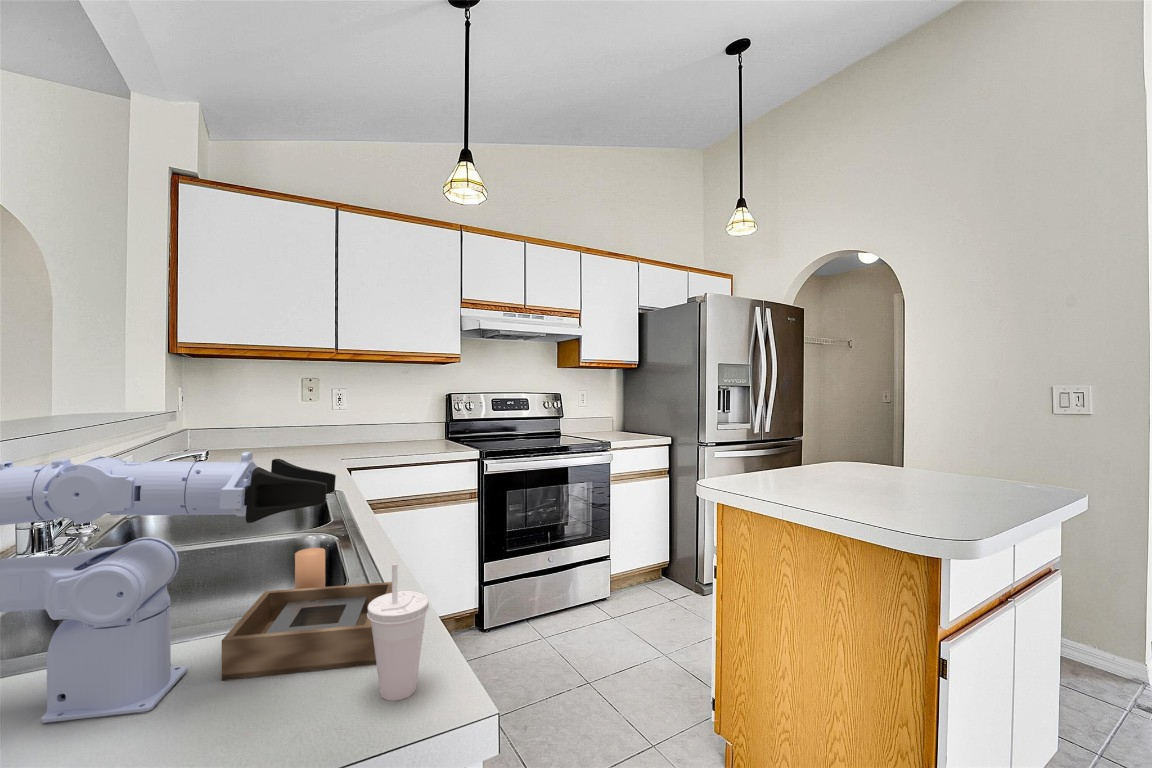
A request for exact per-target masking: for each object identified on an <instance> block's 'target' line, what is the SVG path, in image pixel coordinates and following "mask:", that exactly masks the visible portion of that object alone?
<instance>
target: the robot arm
mask: <svg viewBox="0 0 1152 768" xmlns="http://www.w3.org/2000/svg"><path fill="white" fill-rule="evenodd" d="M253 455H254V454H253V451H245V452H242V453H241V455H240V461H239V462H234V461H232V462H231V461H230V462H226V461H210V462H209V461H167V460H166V461H160V460H159V461H158V460H157V461H156V460H155V461H153V460H152V461H147V462H139V461H127V460H125V459H121V458H117V457H107V456H102V455H101V456H97V457H95V458H94V457H93V458H91V459H88V460H87V461H84V462H81V463H78V464H74V463H72V462H71V459H70V458H69V457H68V458H67V457H66V458H56V459H54V460H53V459H52V461H51V463H49V464H36V465H34V464H33V465H21V466H14V461H11V460H7V461H4V460H3V461H0V526H6V525H16V524H17V525H18V524H26V523H39V522H46V521H56V520H59V519H61V518H62V519H65V518H67V520H68V521H73V523H74V524H75V525H83V524H87V523H90V522H93V521H96V520H98V519H100V518H102V517H103V516H104V515H106V514H108V513H109V515H111V516H123V515H124V516H125V515H127V516H128V515H129V516H133V515H134V516H135V515H136V516H137V515H138V516H146V517H147V516H190V515H191V516H207V515H208V516H209V515H210V516H213V515H215V516H216V515H217V516H218V515H221V516H222V515H235V516H236V517H245V522H246V524H247V523H248V524H253V523H255V522H257V521H259V520H260V521H261V520H262V519H264V518H267V517H269V516H273V515H276V514H279V513H280V514H281V513H283V512H286V511H292V510H293V511H294V510H297V509H304V508H308V507H314V506H319V505H323V504H325V503H326V502H327V501H326V500H327V494H330V493H335V491H336V477H337V475H336V474H334V473H330V472H326V471H321V470H315V469H309V468H305V467H301V466H297V465H295V464H292V463H289V462H288V461H286V460H284V459H281V458H274V459H272V460H271V468H270V470H267V469H264V468H262V467H261V466H258V465H257V464H256V463H255V462H254V460H253V457H254V456H253ZM179 557H180V556H179V554H178V552H177V550H176V548H175V547H174V546H173V545H172V544H171V543H170V542H168V541H166V540H164V539H162V538H158V537H153V536H148V537H147V536H145V537H139V538H136V539H133V540H131V541H128V542H126V543H125V544H123V545H118V546H117V545H116V546H111V547H110V546H109V547H100V548H95V549H91V550H87V551H82V552H78V553H73V554H68V555H53V556H52V555H50V556H31V557H30V556H29V557H28V556H27V557H26V556H25V557H7V558H0V613H10V612H25V611H27V612H28V611H39V610H45V611H46V613H47V614H48V616H49V617H50V619H51V620H53V621H57V620H64V621H62V622H61V623H60V624H59V625H58V627H57V628H56V630H55V631H54V633H53V634H52V637H51V639H50V642H49V644H48V648H47V651H46V652H47V654H46V713H45V714H44V715H43V716H42V717H41V723H42V724H43V723H53V722H62V721H63V722H64V721H71V720H72V721H73V720H79V719H80V720H81V719H89V718H97V717H98V718H99V717H107V716H117V715H124V714H133V713H144V712H149V711H151V710H152V709H154V708H155V707H156V705H158V704H159V702H160V701H162V699H163V698H164V697H165V695H166V694H168V692H169V691H170V690H171V689H172V688H173V687H174V685H176V684H177V682H178V681H179V680H180V679H181V678H182V676H184V675H185V674H186V672H187V671H188V669H189V668H188V666H187V665H182V666H181V665H180V666H179V665H178V666H171V663H172V661H171V660H172V656H171V653H172V652H171V651H172V650H171V649H172V648H171V647H172V646H171V640H172V639H171V638H172V637H171V636H172V635H171V633H172V632H171V597H170V594H169V592H168V584H169V583H170V582H172V580H173V579H174V577H175V576H176V574H177V572H178V571H179V566H180V558H179Z"/></svg>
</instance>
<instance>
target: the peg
mask: <svg viewBox="0 0 1152 768" xmlns="http://www.w3.org/2000/svg"><path fill="white" fill-rule="evenodd" d="M316 587H326V549H325V548H322V547H309V548H308V547H307V548H303V549H300V550H297V551H296V552H295V553H294V589H302V588H316Z"/></svg>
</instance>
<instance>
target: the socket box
mask: <svg viewBox="0 0 1152 768" xmlns="http://www.w3.org/2000/svg"><path fill="white" fill-rule="evenodd" d="M388 593H392V581H385V582H371V583H359V584H346V585H344V584H343V585H332V586H331V585H330V586H325V587H316V588H302V589H295V588H292V589H291V588H290V589H289V588H287V589H276V590H265V591H264V592H263V593H262V594H261V595H260V596H259V597H258V598H257V600H256V601H255V602H254V604H252V605H251V607H249V609H248V610H247V611H246V612H245V613H244V615H243V616H242V617H241V618H240V619H239V620H238V621H237V623H236V624H235V625H234V626H233V627H232V628H231V629H230V630H229V632H228V633H227V634H226V635H225V636H224V637H223V638H222V639H221V681H228V680H229V681H230V680H238V679H247V678H248V679H249V678H258V677H259V678H260V677H266V676H277V675H286V674H295V673H305V672H315V671H316V672H317V671H325V670H333V669H334V670H335V669H345V668H354V667H364V666H371V665H373V666H374V665H377V664H376V656H375V649H374V641H373V634H372V626H371V621H370V620H369V619H368V617H367V618H366V621H365V624H364V625H356V626H345V627H334V628H322V629H311V630H300V631H288V632H277V633H266V632H267V631H268V629H269V628H270V627H271V625H272V624H273V623H274V621H275V620H276V619H277V617H278V616H279V615H280V613H281V612H282V610H283V609H284V608H285V606H286V605H287V604H288V602H299V601H312V600H325V599H338V598H351V597H364V596H367V613H368V605H369V603H370V602H371V601H372V600H374V599H375V598H377V597H379V596H382V595H385V594H388Z"/></svg>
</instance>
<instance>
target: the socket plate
mask: <svg viewBox="0 0 1152 768" xmlns="http://www.w3.org/2000/svg"><path fill="white" fill-rule="evenodd" d="M366 618H367V596H364V597H351V598H338V599H325V600H312V601H299V602H288V604H287V605H286V606H285V608H284V609H283V610H282V612H281V613H280V615H279V616H278V617H277V619H276V620H275V621H274V623H273V624H272V625H271V627H270V628H269V629H268V631H267V632H266V633H277V632H288V631H300V630H311V629H322V628H334V627H345V626H356V625H364V624H365V621H366Z"/></svg>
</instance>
